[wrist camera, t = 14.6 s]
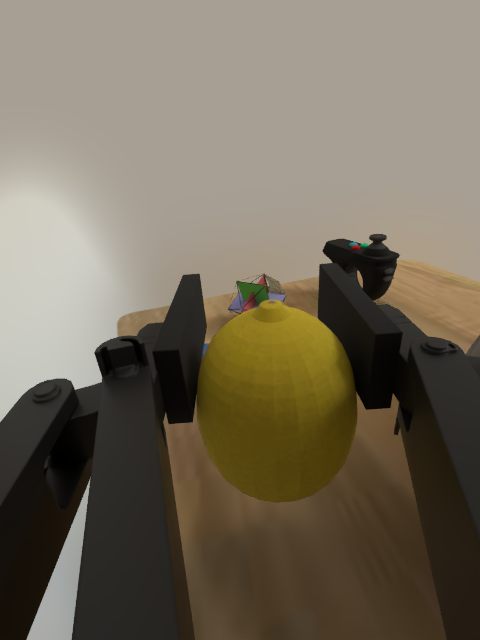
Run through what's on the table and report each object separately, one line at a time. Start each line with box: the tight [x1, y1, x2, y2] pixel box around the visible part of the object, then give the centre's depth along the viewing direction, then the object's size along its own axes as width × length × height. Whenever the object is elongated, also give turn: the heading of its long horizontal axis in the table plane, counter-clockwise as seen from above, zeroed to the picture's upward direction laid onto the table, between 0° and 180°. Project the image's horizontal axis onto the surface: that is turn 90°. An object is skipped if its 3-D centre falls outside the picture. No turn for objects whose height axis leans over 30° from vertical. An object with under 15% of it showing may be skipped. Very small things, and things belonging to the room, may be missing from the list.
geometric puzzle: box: [228, 274, 287, 314], centre depth 43 cm, size 7×7×8 cm
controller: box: [323, 234, 399, 301], centre depth 47 cm, size 4×12×10 cm, turn 23°
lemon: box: [197, 300, 357, 503], centre depth 12 cm, size 6×6×8 cm
